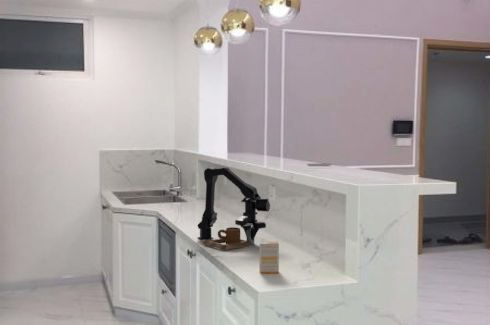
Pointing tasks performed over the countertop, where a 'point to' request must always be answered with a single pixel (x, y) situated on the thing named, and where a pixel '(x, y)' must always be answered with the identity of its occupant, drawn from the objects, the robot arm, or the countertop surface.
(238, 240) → the mug
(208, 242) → the brown frame with handle
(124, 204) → the countertop surface
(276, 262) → the supplement box
